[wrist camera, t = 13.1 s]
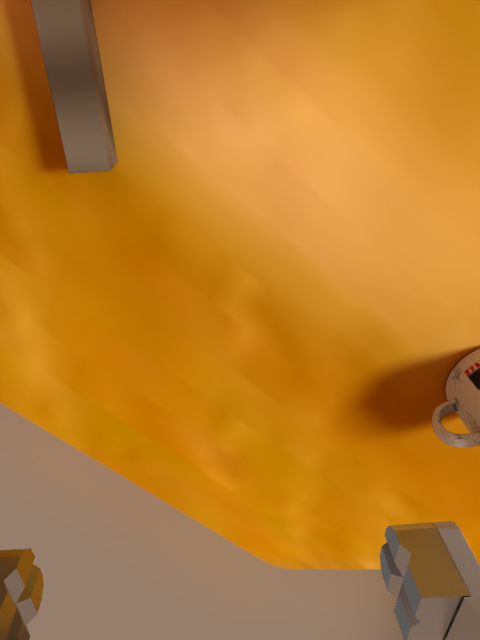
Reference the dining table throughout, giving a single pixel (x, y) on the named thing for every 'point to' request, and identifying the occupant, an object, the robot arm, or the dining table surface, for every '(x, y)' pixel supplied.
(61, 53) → the turner
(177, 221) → the dining table surface
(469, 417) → the teacup with lid
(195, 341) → the dining table surface
